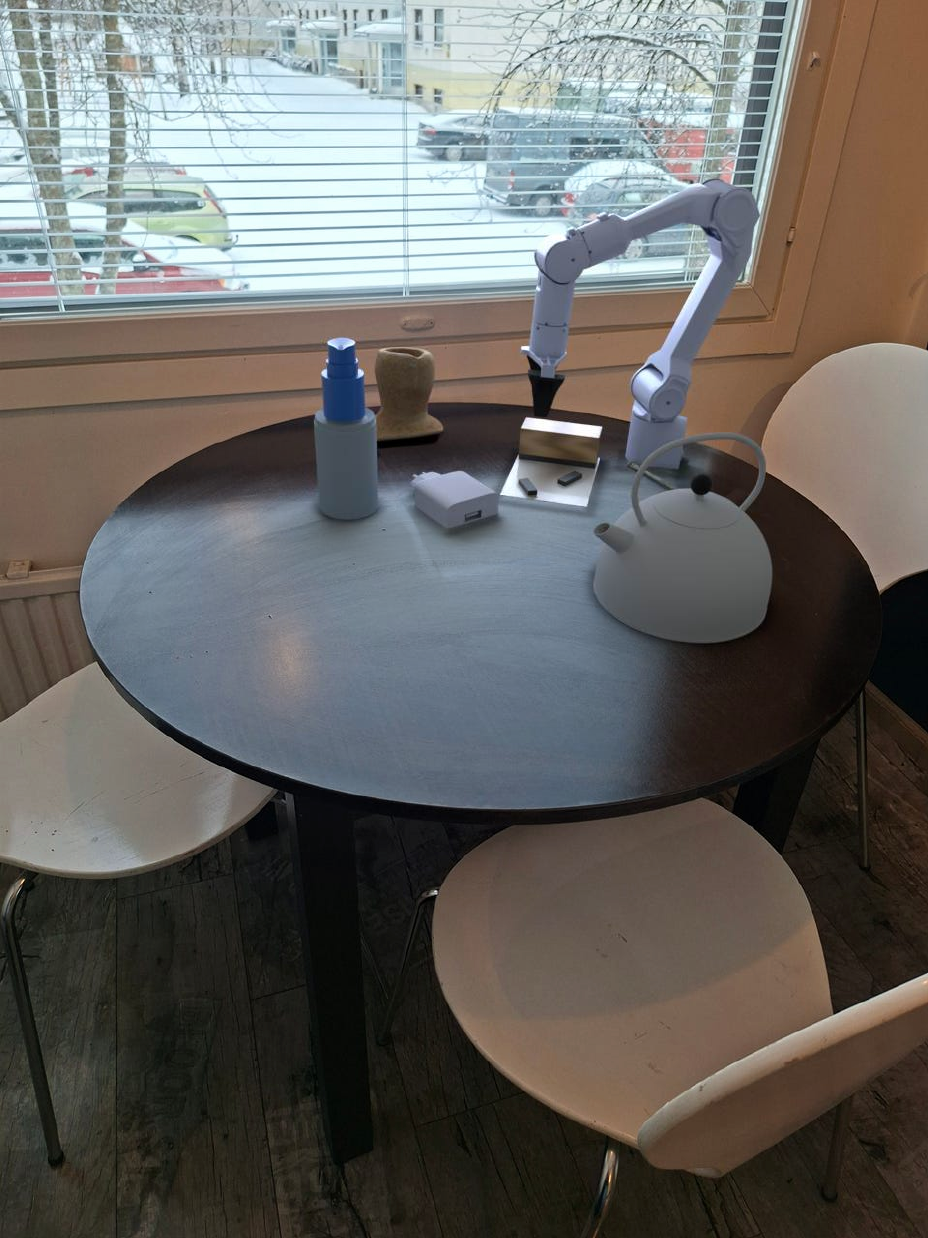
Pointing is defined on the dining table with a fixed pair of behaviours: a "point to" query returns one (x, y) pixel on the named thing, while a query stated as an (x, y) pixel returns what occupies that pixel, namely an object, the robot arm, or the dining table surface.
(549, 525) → the dining table surface
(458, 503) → the charger
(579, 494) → the whiteboard
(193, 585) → the dining table surface
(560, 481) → the black angular block
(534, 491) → the dark grey rectangular block
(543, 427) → the eraser
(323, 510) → the spray bottle
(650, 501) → the kettle
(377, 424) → the stone cup
